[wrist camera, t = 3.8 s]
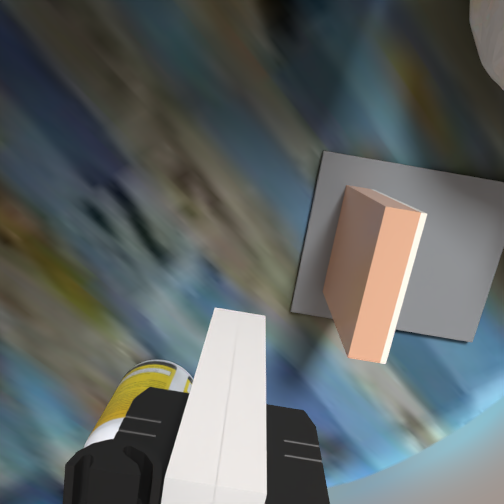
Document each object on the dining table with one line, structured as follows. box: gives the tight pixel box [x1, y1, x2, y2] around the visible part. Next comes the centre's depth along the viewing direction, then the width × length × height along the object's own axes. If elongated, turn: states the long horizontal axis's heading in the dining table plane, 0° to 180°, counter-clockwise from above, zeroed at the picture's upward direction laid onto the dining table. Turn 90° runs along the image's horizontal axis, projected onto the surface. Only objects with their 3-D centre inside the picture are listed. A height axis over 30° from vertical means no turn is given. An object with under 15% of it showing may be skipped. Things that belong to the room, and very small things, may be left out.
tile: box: [323, 185, 427, 364], centre depth 26 cm, size 2×8×10 cm, turn 170°
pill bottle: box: [84, 360, 194, 448], centre depth 29 cm, size 6×6×12 cm
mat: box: [291, 151, 504, 342], centre depth 31 cm, size 14×12×1 cm
